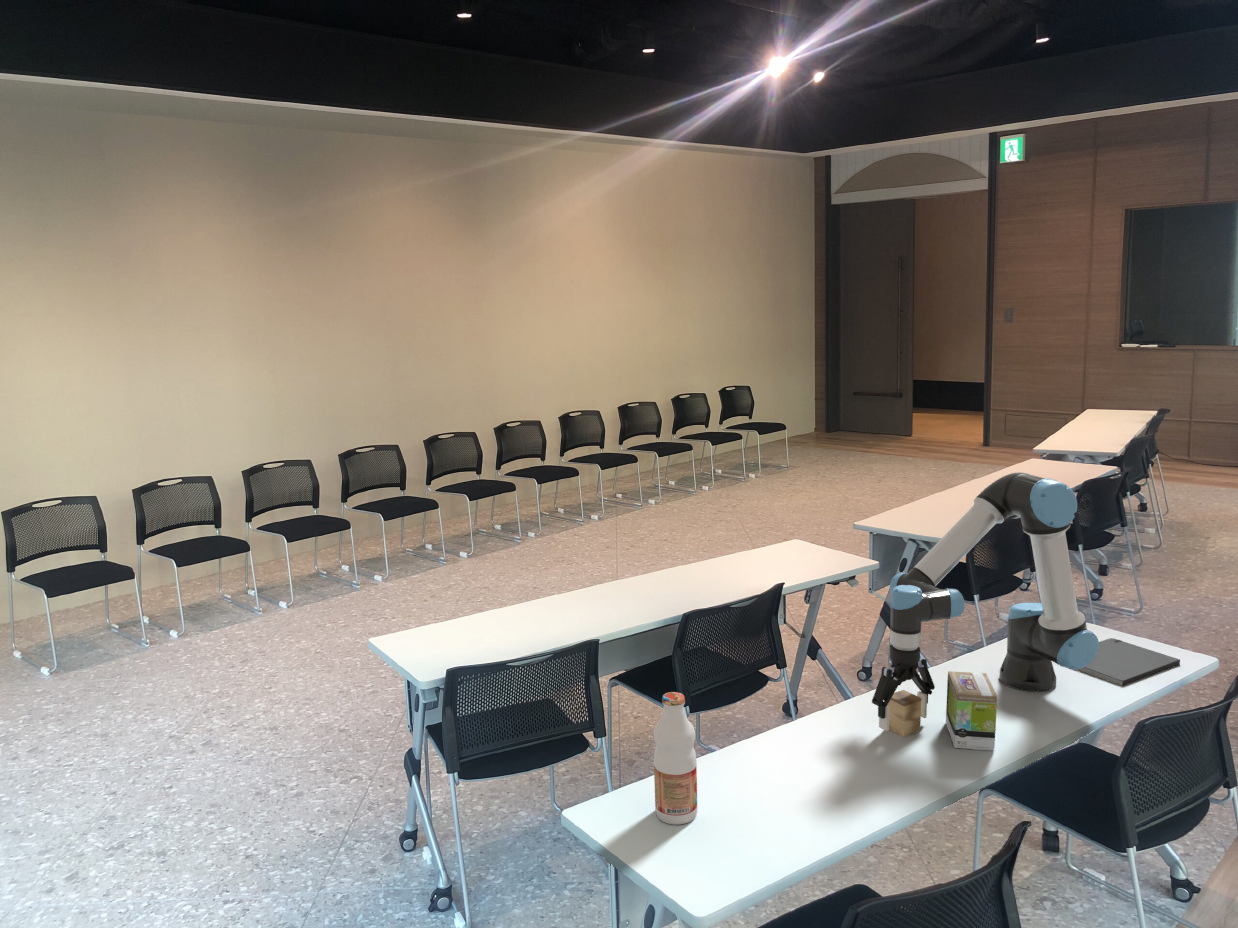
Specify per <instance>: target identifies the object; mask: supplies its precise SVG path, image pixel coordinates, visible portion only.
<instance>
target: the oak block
mask: <svg viewBox="0 0 1238 928" xmlns="http://www.w3.org/2000/svg"><path fill="white" fill-rule="evenodd" d="M887 706H889V731H892V732H894V733H896V734H898V735H899V736H902V737H906V736H909V735H912V734H915V733H919V732H921V723H922V722H921V718H922V717H921V698H920V697H918V696H917V694H914V693H911V692H909V691H908V690H905V689H902V690H899V691H895V692H894V694H893V696H892V698H891V699H890V701H889V703H888V705H887Z"/></svg>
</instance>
